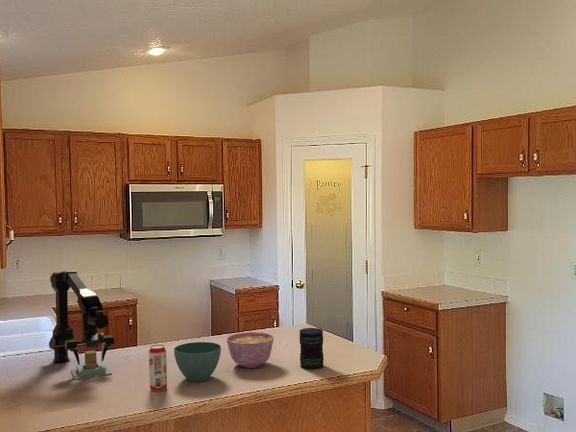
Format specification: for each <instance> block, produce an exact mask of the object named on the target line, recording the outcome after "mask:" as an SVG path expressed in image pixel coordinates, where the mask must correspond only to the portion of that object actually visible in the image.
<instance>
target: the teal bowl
mask: <svg viewBox="0 0 576 432" xmlns="http://www.w3.org/2000/svg"><path fill="white" fill-rule="evenodd" d="M221 350H222V346H221V345H220V344H219V343H215V342H210V341H195V342H193V341H192V342H186V343H183V344H179V345H177V346H174V348H173V354H174V355H173V356H174V359H175V362H176V365H177V367H178V370H179V371H180V373H181V374H182V375H183V376H184V378H185V379H186V380H187V381H190V382H194V383H195V382H205V381H207V380H208V379H209V378H210V377H211V376H212V375H213V373H214V372H215V370H216V369H217V366H218V364H219V362H220V361H219V360H220V357H221V352H222V351H221Z"/></svg>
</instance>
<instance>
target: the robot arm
mask: <svg viewBox="0 0 576 432" xmlns="http://www.w3.org/2000/svg"><path fill="white" fill-rule="evenodd" d="M49 281H50V284H51V288H52V289H53V291H54V292H55V314H56V315H55V316H56V317H55V319H56V320H55V321H56V325H55V327H54V328H53V330H52V335H51V337H50V340H49V341H48V347H49V349H50V350H52V351H53V355H54V358H53V359H52V362H53V364H60V363H68V362H70V361H71V360H70V357H69V351H70V352H73V355H74V356H75V359H76V363H77V365H81V364H80V361H81V360H80V357H79V349H78V347H81V346H82V347H83V346H85V347H86V348H92V347H99V345H100V344H101V362H102V363H103V362H104V359H105V356H106V353H107V351H108V349H109V347H112V345H115V344H116V342H115V337H114V336H113V335H112V334H108V335H104V333H103V332H100V333H98V329H100V330H103V329H105V328H106V327H107V326H108V324H109V318H108V317H109V316H107V315H106V314H104V305H103V303H102V302H101V299H100V297H99V296H98V295H97V294H96V293H95V292H94V291H93V290H90V289H88V288H87V286H86V285H85V284H84V282H83V280H81V278H80V276H79V275H78V271H77V270H74V269H71V270H70V269H69V270H65V271H58V272H57V271H56V272H53V273H52V274H51V275H50V277H49ZM70 288H71V290H72V292H73V293H74V294H75V295H76V297H77V299H76V302H77V304H78V307H79V309H80V311H79V314H80V315H81V330H82V331H81V332H82V340H79V341H77V340H76V339H75V338H74V337H75V335H74V329H73V328H72V327H71V325H69V305H68V304H69V303H68V302H69V301H68V298H69V297H68V295H69V294H68V293H69V290H70Z"/></svg>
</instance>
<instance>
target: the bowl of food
mask: <svg viewBox="0 0 576 432" xmlns="http://www.w3.org/2000/svg"><path fill="white" fill-rule="evenodd" d="M274 338H275V336H274V335H273V334H270V333H266V332H256V331H253V332H252V331H251V332H250V331H249V332H241V333H240V332H239V333H234V334H232V335H229V336H227V337H226V343H227V348H228V351H229V354H230V358H231V359H232V360H233V362H234V363H235V364H237V365H239V366H241V367H242V368H247V369H248V368H249V369H250V368H251V369H252V368H258V367H260V366H261V365H263V364H265V363H266V362H267V361H268V360H269V359H270V358H271V352H272V348H273V344H274Z"/></svg>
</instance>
